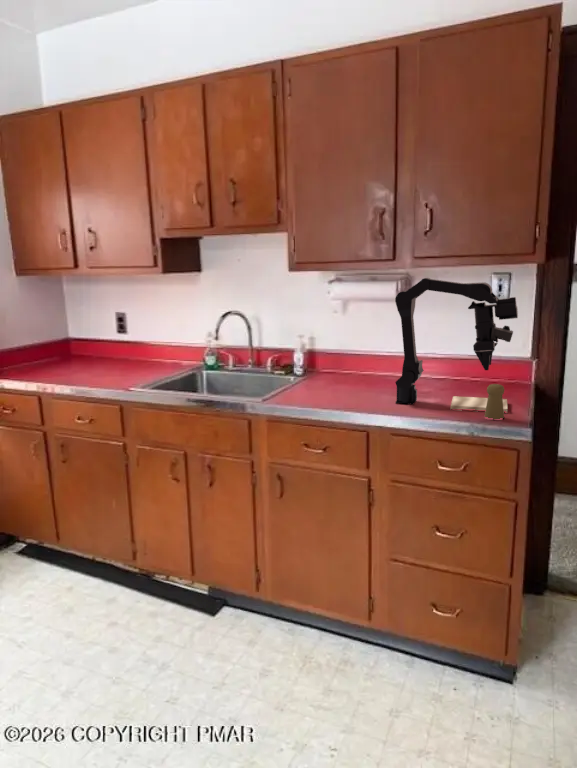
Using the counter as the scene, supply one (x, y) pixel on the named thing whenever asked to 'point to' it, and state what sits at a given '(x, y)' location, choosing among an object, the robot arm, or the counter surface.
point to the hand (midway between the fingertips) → (488, 367)
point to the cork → (495, 402)
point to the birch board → (472, 403)
